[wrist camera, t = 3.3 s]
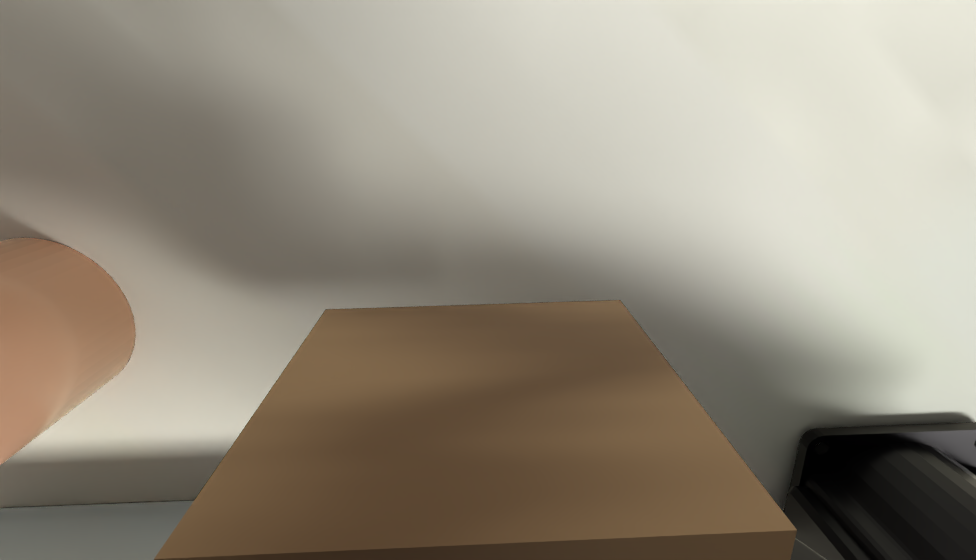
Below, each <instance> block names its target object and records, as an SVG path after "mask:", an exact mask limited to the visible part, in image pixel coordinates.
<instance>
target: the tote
mask: <svg viewBox="0 0 976 560" xmlns="http://www.w3.org/2000/svg"><path fill="white" fill-rule="evenodd" d="M193 502H194V501H169V502H144V503H119V504H94V505H68V506H43V507H18V508H0V560H154V558H155V557H156V555H157V554H158V552H159V551H160V549H161V548H162V547H163V545H164V544H165V542H166V541H167V539H168V538H169V536H170V535H171V533H172V532H173V531H174V529H175V528H176V526H177V525H178V523H179V522H180V520H181V519H182V518H183V516H184V515H185V513H186V512H187V510H188V509H189V507H190V506H191V504H192V503H193Z"/></svg>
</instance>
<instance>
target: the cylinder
mask: <svg viewBox="0 0 976 560" xmlns="http://www.w3.org/2000/svg"><path fill="white" fill-rule="evenodd" d="M135 336H136V335H135V323H134V318H133V314H132V311H131V308H130V305H129V303H128V301H127V299H126V297H125V295H124V294H123V292H122V291H121V289H120V288H119V286H118V285H117V284H116V282H115V281H114V280H113V279H112V278H111V276H109V275H108V274H107V273H106V272H105V271H104V270H103V269H102V268H101V267H100V266H99V265H97V264H96V263H95V262H94V261H92V260H91V259H89V258H88V257H86V256H85V255H83V254H82V253H80V252H78V251H76V250H74V249H72V248H70V247H67V246H64V245H62V244H59V243H56V242H52V241H48V240H43V239H37V238H13V239H7V240H3V241H0V465H1V464H3V463H4V462H5V461H6V460H8V459H9V458H10V457H12V456H13V455H14V454H15V453H17V452H18V451H19V450H21V449H22V448H23V447H25V446H26V445H27V444H28V443H30V442H31V441H32V440H34V439H35V438H36V437H38V436H39V435H40V434H41V433H43V432H44V431H45V430H47V429H48V428H49V427H50V426H52V425H53V424H54V423H56V422H57V421H58V420H60V419H61V418H62V417H63V416H65V415H66V414H67V413H69V412H70V411H71V410H73V409H74V408H75V407H76V406H78V405H79V404H80V403H82V402H83V401H84V400H85V399H87V398H88V397H89V396H91V395H92V394H93V393H95V392H96V391H97V390H98V389H100V388H101V387H102V386H104V385H105V384H106V383H108V382H109V381H110V380H111V379H113V378H114V377H115V376H117V375H118V374H119V373H120V372H121V371H122V370H123V368H124V367H125V366H126V364H127V363H128V361H129V359H130V357H131V355H132V352H133V348H134V345H135Z"/></svg>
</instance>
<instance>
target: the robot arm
mask: <svg viewBox="0 0 976 560" xmlns="http://www.w3.org/2000/svg"><path fill="white" fill-rule="evenodd" d="M818 443H820V444H819V445H817V444H818ZM816 445H817V446H816ZM784 514H785V515H786V516H787V518H788V519H789V520H790V522H791V523H792V524H793V526H794V527H795V528H796V529H797V532H796V537H795V541H794V546H793V550H792V554H791V559H790V560H976V422H972V423H946V424H919V425H892V426H865V427H839V428H816V429H811V430H809V431H807V432H806V433H805V434H804V435H803V436H802V437H801V439H800V442H799V447H798V452H797V456H796V461H795V466H794V470H793V475H792V480H791V484H790V489H789V493H788V496H787V501H786V506H785V511H784Z"/></svg>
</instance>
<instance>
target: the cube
mask: <svg viewBox="0 0 976 560" xmlns="http://www.w3.org/2000/svg"><path fill="white" fill-rule="evenodd" d="M796 532H797V529H796V528H795V527H794V526H793V524H792V523H791V522H790V520H789V519H788V518H787V516H786V515H785V514H784V513H783V511H782V510H781V509H780V507H779V506H778V505H777V503H776V502H775V501H774V500H773V498H772V497H771V496H770V494H769V493H768V492H767V490H766V489H765V488H764V487H763V485H762V484H761V483H760V481H759V480H758V479H757V477H756V476H755V475H754V474H753V472H752V471H751V470H750V468H749V467H748V466H747V464H746V463H745V462H744V461H743V459H742V458H741V457H740V455H739V454H738V453H737V451H736V450H735V449H734V448H733V446H732V445H731V444H730V442H729V441H728V440H727V438H726V437H725V436H724V435H723V433H722V432H721V431H720V429H719V428H718V427H717V425H716V424H715V423H714V422H713V420H712V419H711V418H710V416H709V415H708V414H707V412H706V411H705V410H704V409H703V407H702V406H701V405H700V403H699V402H698V401H697V399H696V398H695V397H694V396H693V394H692V393H691V392H690V390H689V389H688V388H687V386H686V385H685V384H684V383H683V381H682V380H681V379H680V377H679V376H678V375H677V373H676V372H675V371H674V370H673V368H672V367H671V366H670V364H669V363H668V362H667V360H666V359H665V358H664V357H663V355H662V354H661V353H660V351H659V350H658V349H657V347H656V346H655V345H654V344H653V342H652V341H651V340H650V338H649V337H648V336H647V335H646V333H645V332H644V331H643V329H642V328H641V327H640V325H639V324H638V323H637V322H636V320H635V319H634V318H633V316H632V315H631V314H630V312H629V311H628V310H627V309H626V307H625V306H624V305H623V303H622V302H621V301H620V300H607V301H575V302H544V303H513V304H481V305H450V306H419V307H387V308H356V309H326V310H325V311H324V313H323V314H322V316H321V317H320V319H319V320H318V322H317V323H316V324H315V326H314V327H313V329H312V330H311V332H310V333H309V335H308V336H307V338H306V339H305V340H304V342H303V343H302V345H301V346H300V348H299V349H298V351H297V352H296V354H295V355H294V356H293V358H292V359H291V361H290V362H289V364H288V365H287V367H286V368H285V369H284V371H283V372H282V374H281V375H280V377H279V378H278V380H277V381H276V383H275V384H274V385H273V387H272V388H271V390H270V391H269V393H268V394H267V396H266V397H265V399H264V400H263V401H262V403H261V404H260V406H259V407H258V409H257V410H256V412H255V413H254V414H253V416H252V417H251V419H250V420H249V422H248V423H247V425H246V426H245V428H244V429H243V430H242V432H241V433H240V435H239V436H238V438H237V439H236V441H235V442H234V444H233V445H232V446H231V448H230V449H229V451H228V452H227V454H226V455H225V457H224V458H223V459H222V461H221V462H220V464H219V465H218V467H217V468H216V470H215V471H214V473H213V474H212V475H211V477H210V478H209V480H208V481H207V483H206V484H205V486H204V487H203V489H202V490H201V491H200V493H199V494H198V496H197V497H196V499H195V500H194V502H193V503H192V504H191V506H190V507H189V509H188V510H187V512H186V513H185V515H184V516H183V518H182V519H181V520H180V522H179V523H178V525H177V526H176V528H175V529H174V531H173V532H172V533H171V535H170V536H169V538H168V539H167V541H166V542H165V544H164V545H163V547H162V548H161V549H160V551H159V552H158V554H157V555H156V557H155V558H154V560H790V559H791V554H792V550H793V546H794V541H795V537H796Z"/></svg>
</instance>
